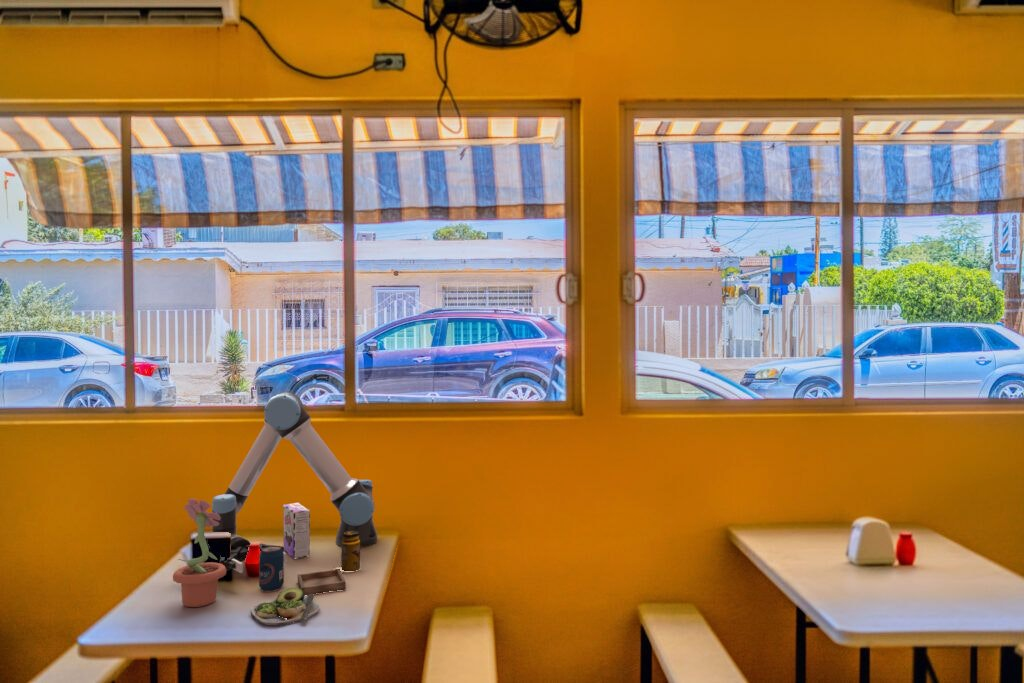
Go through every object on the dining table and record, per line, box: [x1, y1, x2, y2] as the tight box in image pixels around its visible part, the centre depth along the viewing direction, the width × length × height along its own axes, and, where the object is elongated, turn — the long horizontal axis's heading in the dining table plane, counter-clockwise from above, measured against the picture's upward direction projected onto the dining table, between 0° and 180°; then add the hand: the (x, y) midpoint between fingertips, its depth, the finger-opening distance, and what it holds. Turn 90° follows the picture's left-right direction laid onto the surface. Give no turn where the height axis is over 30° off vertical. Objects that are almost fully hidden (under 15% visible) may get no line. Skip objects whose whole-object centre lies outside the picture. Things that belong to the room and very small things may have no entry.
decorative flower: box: [172, 498, 227, 608], centre depth 188 cm, size 15×14×30 cm
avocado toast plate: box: [250, 587, 321, 627], centre depth 179 cm, size 19×18×5 cm
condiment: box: [333, 531, 365, 572], centre depth 215 cm, size 7×8×12 cm
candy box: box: [282, 502, 311, 560], centre depth 233 cm, size 14×6×16 cm, turn 33°
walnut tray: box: [297, 569, 347, 595], centre depth 200 cm, size 13×13×2 cm
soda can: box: [258, 545, 285, 592], centre depth 199 cm, size 7×7×12 cm
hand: (263, 562), depth 201 cm, fingers open, 13 cm apart
